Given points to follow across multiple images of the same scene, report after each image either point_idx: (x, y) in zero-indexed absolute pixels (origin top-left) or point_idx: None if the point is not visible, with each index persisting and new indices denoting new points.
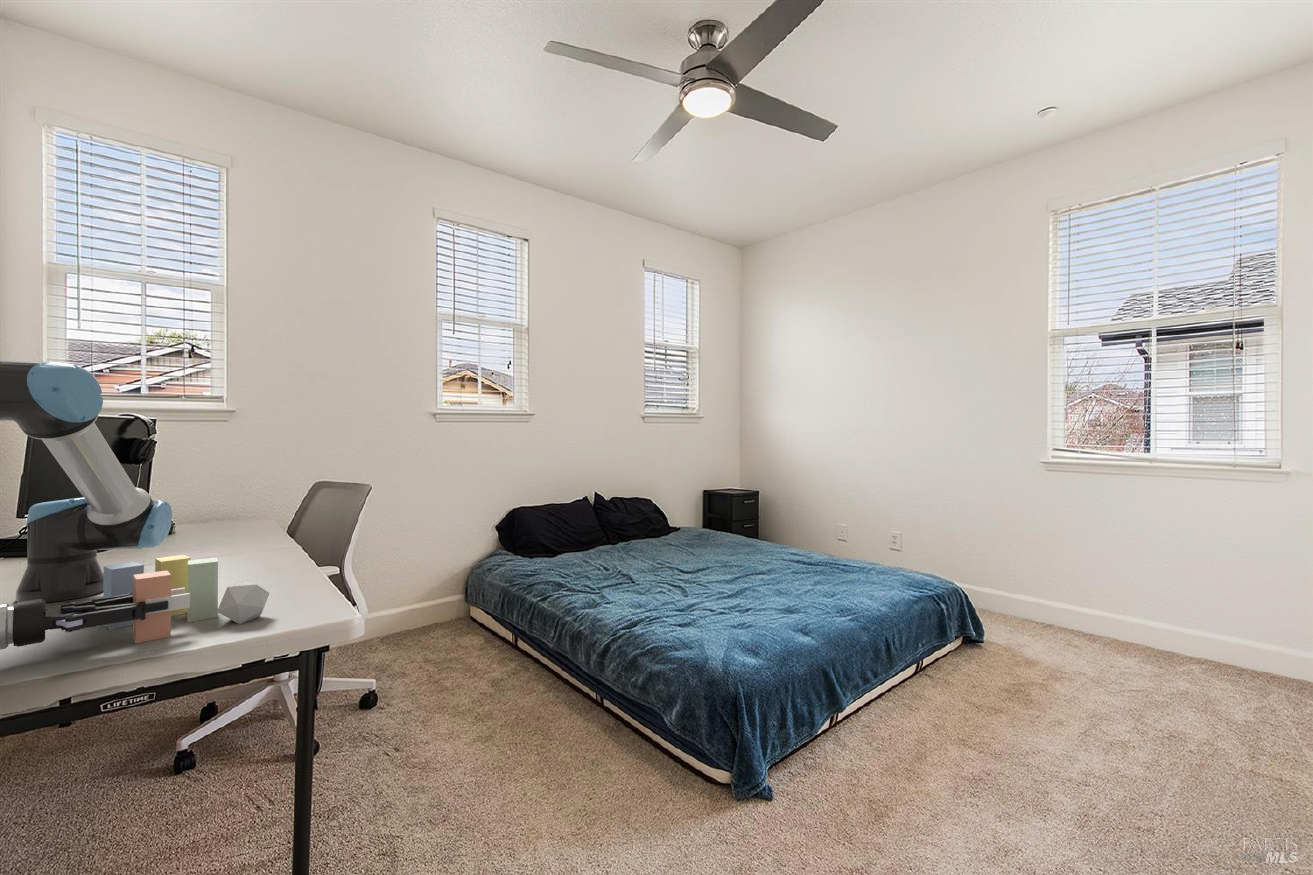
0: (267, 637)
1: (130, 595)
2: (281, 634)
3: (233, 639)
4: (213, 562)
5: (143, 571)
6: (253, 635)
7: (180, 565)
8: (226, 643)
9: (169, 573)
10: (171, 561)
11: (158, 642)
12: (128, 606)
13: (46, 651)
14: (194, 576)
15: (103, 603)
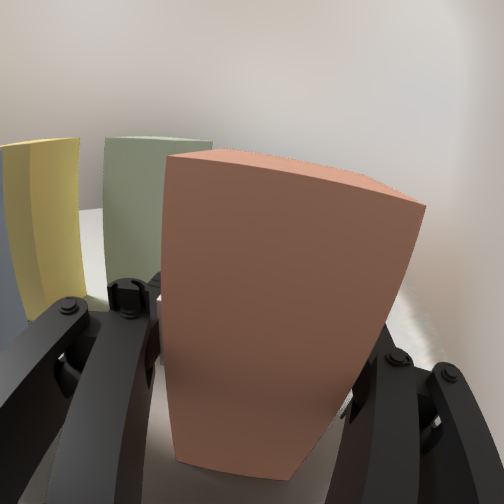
0: (421, 310)
1: (106, 327)
2: (414, 299)
3: (410, 336)
4: (208, 142)
5: (1, 180)
6: (401, 316)
7: (63, 160)
8: (429, 347)
9: (323, 165)
10: (49, 145)
11: (337, 435)
12: (455, 405)
13: None
14: None
15: (119, 498)
